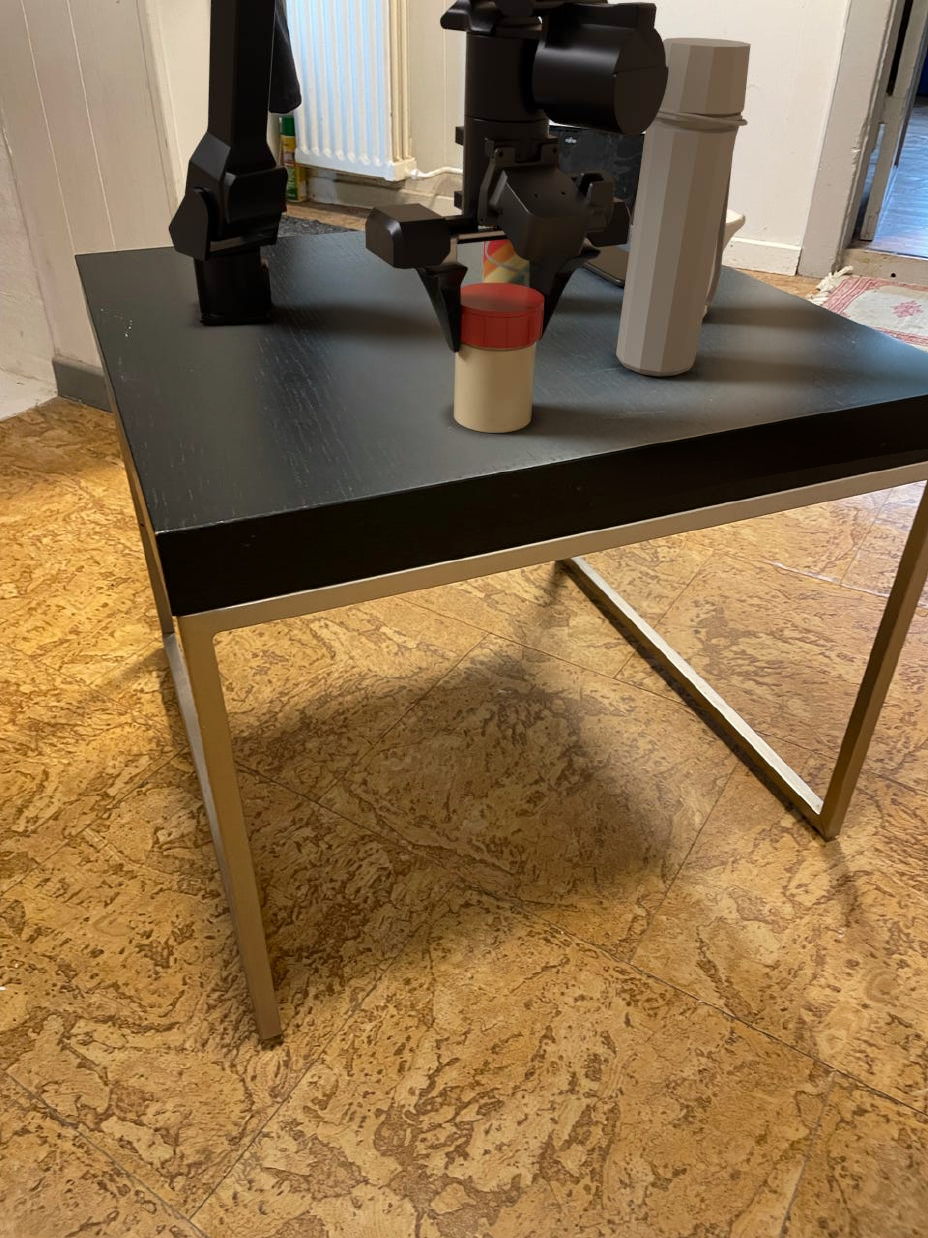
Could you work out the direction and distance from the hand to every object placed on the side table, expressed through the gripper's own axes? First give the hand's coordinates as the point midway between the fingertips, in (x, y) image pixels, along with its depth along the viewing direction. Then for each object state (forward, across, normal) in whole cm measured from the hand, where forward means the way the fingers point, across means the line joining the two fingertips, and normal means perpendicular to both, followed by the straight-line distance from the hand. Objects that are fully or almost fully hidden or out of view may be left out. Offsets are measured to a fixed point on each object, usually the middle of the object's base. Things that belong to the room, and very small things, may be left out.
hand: (495, 344), depth 71 cm
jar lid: (-3, 0, 0) cm, 3 cm away
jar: (+6, 0, 0) cm, 6 cm away
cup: (+6, +30, +15) cm, 34 cm away
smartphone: (+6, +32, +31) cm, 45 cm away
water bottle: (+6, +20, +4) cm, 21 cm away
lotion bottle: (+6, +15, +24) cm, 29 cm away
